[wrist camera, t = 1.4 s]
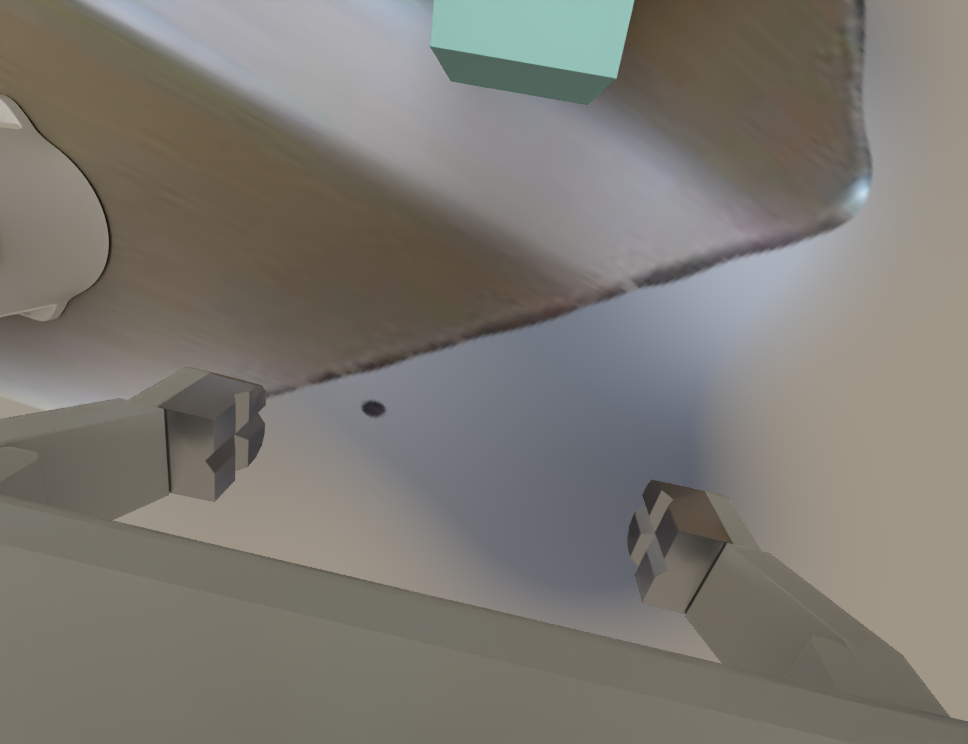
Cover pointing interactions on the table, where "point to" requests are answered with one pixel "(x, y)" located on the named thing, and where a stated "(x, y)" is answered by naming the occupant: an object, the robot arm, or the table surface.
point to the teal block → (532, 44)
